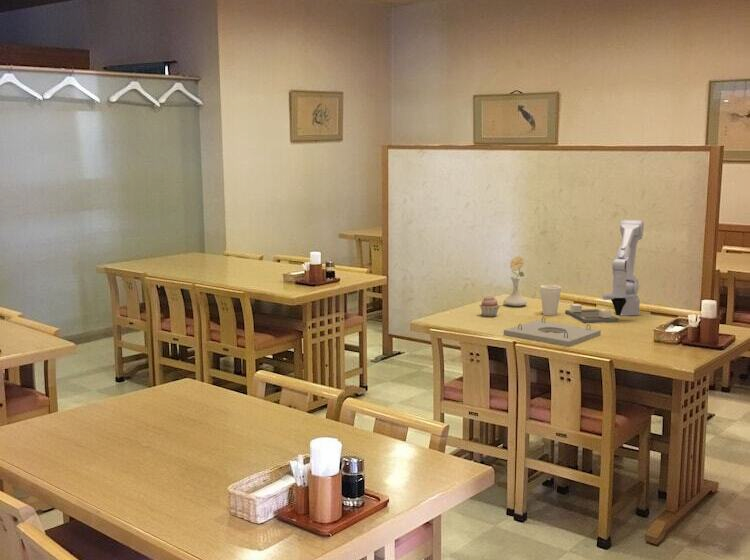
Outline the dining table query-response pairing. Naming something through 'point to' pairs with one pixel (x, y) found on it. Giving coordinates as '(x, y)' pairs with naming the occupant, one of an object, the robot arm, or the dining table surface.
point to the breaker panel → (590, 316)
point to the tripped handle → (605, 313)
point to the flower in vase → (516, 284)
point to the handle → (575, 307)
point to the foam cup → (550, 299)
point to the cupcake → (489, 306)
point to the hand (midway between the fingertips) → (618, 314)
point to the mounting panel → (559, 336)
